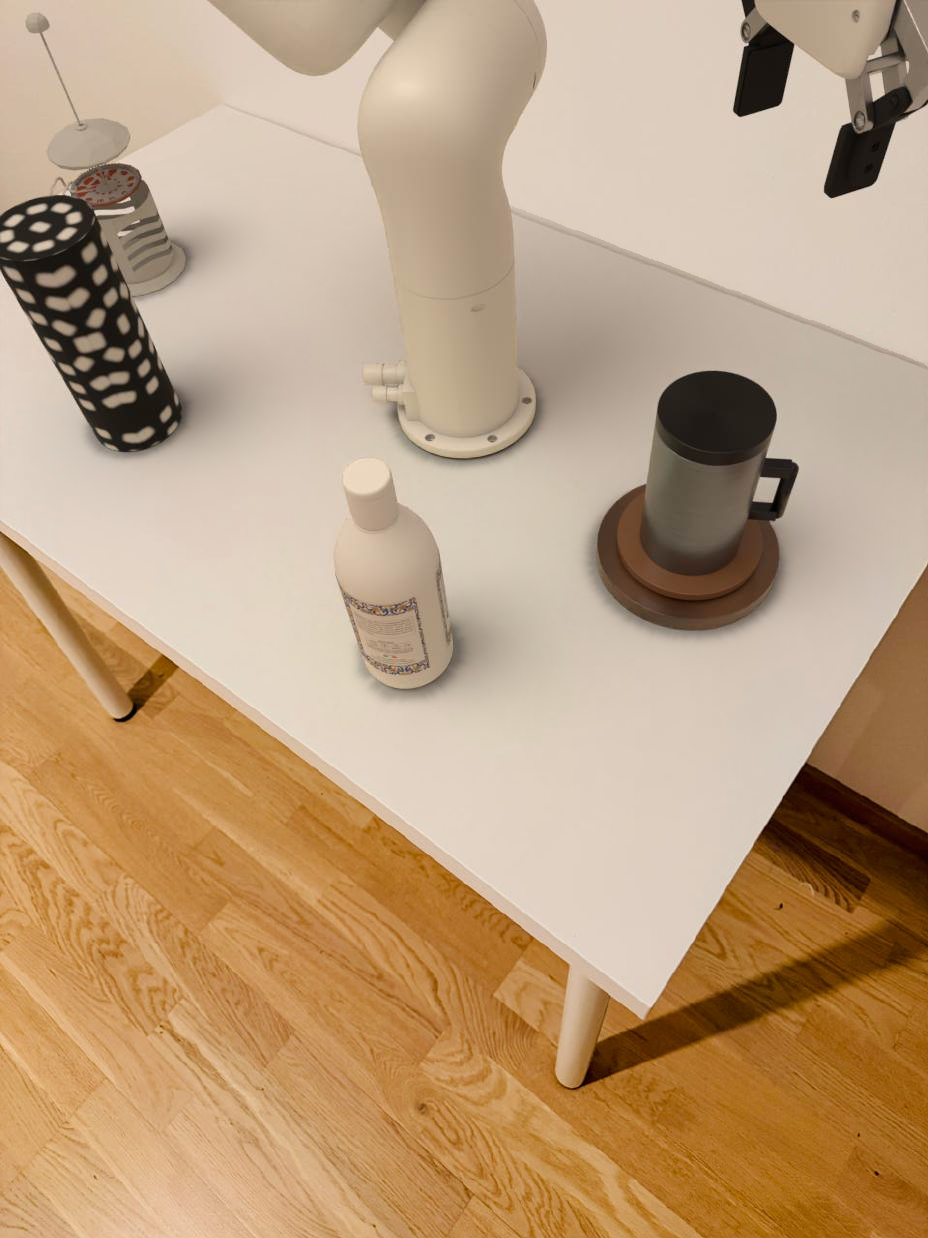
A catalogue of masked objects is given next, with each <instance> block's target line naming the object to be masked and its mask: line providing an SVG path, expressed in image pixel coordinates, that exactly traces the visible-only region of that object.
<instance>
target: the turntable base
mask: <svg viewBox="0 0 928 1238" xmlns="http://www.w3.org/2000/svg"><path fill="white" fill-rule="evenodd" d="M645 490H646V483H644V484H641V485H639V486H637V487H635V488H632V489H631V490H629V491H627V492H626V493H624V494H623V495H622V496H621V497H620V498H619V499H617V500H616V501H615V502H614V503H613V504H612V505H611V506H610V507H609V508H608V510H607V512H606V513H605V515H604V517H603V519H602V521H601V523H600V524H599V529H598V533H597V540H596V549H595V550H596V551H595V555H596V557H595V558H596V565H597V569H598V573H599V576H600V578H601V580H602V582H603V584H604V585H605V587H606V589H607V590H608V592H609V594H611V595H612V597H614V599H615V600H616V601H617V602H618V603H620V605H621V606H623V607H624V608H626V610H628V611H629V612H630V613H632V614H634V615H635V616H638V617H639V618H641V619H643V620H645V621H648V622H649V623H652V624H655V625H658V626H661V627H665V628H670V629H674V630H683V631H704V630H710V629H711V630H712V629H716V628H720V627H724V626H727V625H730V624H732V623H735V622H737V621H739V620H741V619H742V618H744V617H746V616H748V615H749V614H750V613H752V612H753V611H754V610H756V608H757V607H759V606H760V605H761V604H762V602H763V601H764V600H765V598H766V597H767V596H768V595H769V593H770V591H771V588H772V586H773V584H774V581H775V578H776V576H777V573H778V569H779V565H780V560H781V559H780V545H779V540H778V539H779V538H778V536H777V533H776V531H775V529H774V527H773V525H772V523H771V521H765V520H756V521H757V523H758V525H759V527H760V530H761V534H762V541H763V543H762V552H761V557H760V560H759V562H758V565H757V567H756V569H755V571H754V572H753V574H752V575H751V577H750V578H749V579H748V580H747V581H746V582H745V583H744V584H743V585H741V586H740V587H739V588H737V589H735V590H734V591H732V592H730V593H728V594H726V595H723V596H720V597H717V598H712V599H707V600H682V599H676V598H671V597H667V596H665V595H662V594H659V593H657V592H655V591H653V590H651V589H649V588H647V587H646V586H644V585H642V584H641V583H640V582H639V581H637V580H636V579H635V578H634V577H633V576H632V575H631V574H630V573H629V571H628V570H627V569H626V567H625V566H624V564H623V562H622V560H621V558H620V555H619V552H618V548H617V530H618V524H619V521H620V518H621V516H622V514H623V512H624V511H625V509H626V508H627V507H628V505H629V504H630V503H631V502H632V501H633V500H634V499H636V498H637V497H638V496H640V495H641V494H643V493H645Z"/></svg>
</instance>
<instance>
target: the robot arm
mask: <svg viewBox="0 0 928 1238" xmlns="http://www.w3.org/2000/svg"><path fill="white" fill-rule="evenodd" d="M207 1H208V3H210V4H211V6H213V7H214V8H215V9H217V11H218V12H220V13H221V14H222V15H224V17H226V18H227V19H228V20H229V21H230V22H232V23H233V24H234V25H235V26H236V27H237V28H239V29H240V30H241V31H242V32H243V33H244V34H245V35H246V36H248V37H249V38H250V39H251V40H252V41H254V42H255V43H256V44H257V45H259V47H261V48H262V49H263V50H264V51H265V52H267V53H268V54H269V55H270V56H271V57H272V58H274V60H276V61H278V62H279V63H281V64H282V65H283V66H285V67H286V68H287V69H290V70H291V71H293V72H295V73H297V74H300V75H305V76H309V77H320V76H326V75H328V74H330V73H331V74H332V72H335V71H336V70H338V69H340V68H341V67H342V66H343V65H344V64H346V63H347V62H348V61H350V60H351V58H353V56H354V55H356V53H357V52H358V51H359V50H360V49H361V48H362V47H363V45H364V44H365V43H366V42H367V41H368V39H369V38H370V37H371V36H372V34H374V32H375V31H376V30H377V28H378V29H379V30H380V31H381V32H383V33H384V34H385V35H386V36H387V37H389V38H390V39H391V41H392V43H391V44H390V46H388V48H387V49H386V51H385V52H384V53H383V55H381V57H380V59H379V60H378V61H377V63H376V65H375V66H374V68H373V70H372V72H371V73H370V76H369V77H368V79H367V82H366V85H365V86H364V90H363V93H362V95H361V98H360V102H359V107H358V112H357V124H356V128H357V129H356V131H357V141H358V147H359V151H360V155H361V158H362V162H363V164H364V167H365V170H366V172H367V175H368V178H369V181H370V183H371V187H372V188H373V191H374V194H375V197H376V200H377V203H378V208H379V211H380V215H381V219H382V224H383V228H384V233H385V237H386V239H385V240H386V244H387V249H388V255H389V261H390V267H391V272H392V278H393V283H394V290H395V296H396V303H397V310H398V315H399V321H400V327H401V333H402V339H403V347H404V352H405V358H406V360H399V361H398V362H397V364H385V363H364V364H363V366H362V382H363V384H364V386H373V387H372V391H371V394H372V395H371V396H372V402H373V403H389V402H397V403H396V404H397V405H396V406H397V407H396V408H397V409H396V410H397V416H398V421H399V424H400V428H401V429H402V431H403V432H404V434H405V435H406V437H407V438H408V439H409V440H410V441H411V442H412V443H414V445H416V446H417V447H419V448H421V449H423V450H424V451H425V452H429V453H431V454H434V455H436V456H441V457H445V458H451V459H470V458H471V459H472V458H480V457H484V456H488V455H492V454H495V453H497V452H500V451H501V450H502V451H503V449H506V448H508V447H509V446H511V445H512V444H513V443H516V442H517V441H518V440H519V439H520V438H521V437H522V436H523V435H525V433H526V432H527V431H528V429H529V428H530V427H531V425H532V423H533V420H534V418H535V416H536V408H537V394H536V391H535V387H534V384H533V383H532V381H531V379H530V377H529V375H527V374H526V373H525V372H524V370H523V369H522V368H520V367H519V366H518V337H517V336H518V334H517V333H518V332H517V331H518V330H517V298H516V297H517V295H516V267H515V266H516V265H515V264H516V263H515V243H514V241H515V240H514V225H513V216H512V209H511V205H510V201H509V198H508V195H507V192H506V188H505V183H504V180H503V178H504V177H503V160H504V153H505V149H506V146H507V144H508V142H509V140H510V138H511V136H512V134H513V132H514V130H515V129H516V127H517V124H518V123H519V121H520V118H521V116H522V114H523V113H524V111H525V109H526V107H527V106H528V104H529V102H530V101H531V99H532V97H533V95H534V94H535V92H536V90H537V88H538V85H539V84H540V81H541V80H542V77H543V73H544V70H545V66H546V62H547V56H548V39H547V33H546V27H545V24H544V23H545V22H544V20H543V17H542V14H541V12H540V10H539V8H538V6H537V3H536V2H535V0H207ZM740 1H741V5H742V9H743V14H744V20H743V21H742V22H741V25H740V30H739V33H740V34H739V35H740V38H741V40H742V42H743V43H744V44H748V45H744V46H743V50H742V55H741V60H740V61H741V62H740V67H739V72H738V78H737V84H736V89H735V95H734V100H733V106H732V112H733V113H734V114H735V115H736V116H737V117H738V118H743V117H747V116H750V115H753V114H756V113H761V112H763V111H766V110H769V109H774V108H776V107H779V106H780V105H781V104H782V102H783V100H784V95H785V90H786V87H787V81H788V76H789V73H790V67H791V64H792V59H793V54H794V50H795V46H796V47H798V48H799V49H800V50H801V51H803V52H804V53H806V54H807V55H809V56H810V58H812V59H814V60H815V61H816V62H817V63H819V65H822V66H823V67H824V68H825V69H827V70H829V71H830V72H832V73H833V74H834V75H836V76H838V77H840V78H842V79H844V81H845V90H846V95H847V101H848V108H849V114H850V122H847V123H845V124H842V125H841V126H840V128H839V130H838V134H837V138H836V141H835V145H834V148H833V153H832V155H831V159H830V163H829V167H828V170H827V174H826V177H825V181H824V185H823V193H824V194H825V195H826V196H827V197H828V198H829V199H835V198H839V197H841V196H844V195H847V194H851V193H854V192H857V191H860V190H863V189H867V188H870V187H871V186H873V185H874V184H876V182H877V181H878V178H879V176H880V173H881V169H882V166H883V164H884V161H885V158H886V155H887V151H888V148H889V145H890V141H891V139H892V136H893V134H894V131H895V127H896V124H897V123H899V122H902V121H905V120H907V119H908V118H909V117H910V115H912V114H914V113H916V112H918V111H920V110H922V109H923V108H926V106H928V0H740ZM879 47H880V53H881V56H878V57H874V58H870V59H869V56H874V55H875V53H876V52H877V50H878V48H879ZM907 62H908V69H907ZM880 73H881V77H882V85H883V93H884V94H883V95H882V96H880V97H878V98H876V99H875V100H874V98H873V92H872V91H873V90H872V84H871V77H870V76H873V75H877V74H880ZM385 385H397V387H395V386H393V387H392V386H385Z"/></svg>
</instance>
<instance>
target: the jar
mask: <svg viewBox="0 0 928 1238" xmlns="http://www.w3.org/2000/svg"><path fill="white" fill-rule="evenodd" d="M777 411H778V410H777V406H776V404H775V401H774V400H773V398H772V396H771V395H770V394H769V392H768V391H767V390H766V389H765V388H764V387H763V386H761V385H760V384H759V383H758V382H756V381H755V380H752V379H750V378H748V377H747V376H744V375H741V374H738V373H734V372H730V371H725V370H701V371H695V372H692V373H688V374H685V375H683V376H681V377H679V378H677V379H675V380H674V381H672V382H671V383H670V384H669V385H668V386H667V387H666V388H665V389H664V390H663V392H662V393H661V395H660V396H659V399H658V402H657V408H656V415H655V422H654V428H653V436H652V442H651V449H650V456H649V462H648V470H647V478H646V483H645V484H646V490H645V493H643V494H641V495H640V496H638V497H637V498H636V499H634V500H633V501H632V502H631V503H630V504H629V505H628V507H627V508H626V509H625V511H624V512H623V514H622V516H621V518H620V521H619V524H618V530H617V548H618V552H619V555H620V558H621V560H622V562H623V564H624V566H625V567H626V569H627V570H628V571H629V573H630V574H631V575H632V576H633V577H634V578H635V579H636V580H637V581H639V582H640V583H641V584H642V585H644V586H646V587H647V588H649V589H651V590H653V591H655V592H657V593H659V594H662V595H665V596H667V597H671V598H676V599H682V600H707V599H712V598H717V597H720V596H723V595H726V594H728V593H730V592H732V591H734V590H735V589H737V588H739V587H740V586H741V585H743V584H744V583H745V582H746V581H747V580H748V579H749V578H750V577H751V575H752V574H753V572H754V571H755V569H756V567H757V565H758V562H759V560H760V557H761V552H762V543H763V541H762V534H761V530H760V527H759V525H758V523H757V521H756V520H765V521H770V522H776V521H777V520H779V519H781V518H782V517H783V516H784V514H785V512H786V508H787V506H788V503H789V499H790V497H791V495H792V492H793V488H794V485H795V484H796V483H795V482H796V479H797V478H798V477H797V476H798V474H799V471H800V467H799V464H797V462H795V461H793V459H791V458H776V457H767V455H768V452H769V448H770V444H771V442H772V438H773V434H774V433H775V432H774V431H775V428H776V425H777V420H778V412H777ZM761 478H766V479H769V478H770V479H779V481H778V484H777V487H776V490H775V493H774V496H773V499H772V502H769V501H756V500H755V501H754V499H755V495H756V491H757V488H758V485H759V483H760V482H759V481H760V479H761Z"/></svg>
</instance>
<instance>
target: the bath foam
mask: <svg viewBox="0 0 928 1238" xmlns="http://www.w3.org/2000/svg"><path fill="white" fill-rule="evenodd" d="M341 483H342V484H341V485H342V487H343V488H342V489H343V490H344V495H345V499H346V502H347V505H348V509H349V512H350V514H349V515H347V517H346V519H345V520H344V521H343V523H342V525H341V527H340V529H339V530H338V532H337V535H336V538H335V542H334V548H333V565H334V567H333V568H334V574H335V578H336V582H337V584H338V587H339V591H340V593H341V596H342V599H343V600H342V601H343V602H344V606H345V609H346V612H347V615H348V618H349V621H350V624H351V627H352V630H353V633H354V636H355V639H356V642H357V645H358V648H359V651H360V654H361V657H362V660H363V662H364V665H365V667H366V669H367V670H368V672H369V673H370V675H372V676H373V678H375V679H376V680H378V681H379V682H380V683H382V684H383V685H385V686H388V687H391V688H394V689H401V690H406V689H407V690H408V689H415V688H416V689H417V688H420V687H422V686H426V685H427V684H430V683H431V682H433V681H435V680H436V679H437V678H438V677H440V676H441V675H442V674H443V673H444V671H445V670H446V669H447V667H448V666H449V664H450V662H451V660H452V656H453V652H454V639H453V633H452V624H451V623H452V622H451V617H450V611H449V605H448V599H447V593H446V586H445V580H444V574H443V567H442V561H441V553H440V550H439V547H438V546H439V545H438V544H437V541H436V538H435V536H434V533H432V530H431V529H430V528H429V526H428V524H427V523H426V522H425V520H424V519H423V518H422V517H421V516H419V514H417V513H416V511H413V510H412V509H410V508H409V507H408V506H405V505H404V504H402V503H399V502H398V498H397V497H398V496H397V491H396V488H395V482H394V478H393V473H392V471H391V468H390V466H389V465H388V464H387V463H386V461H384V460H382V459H380V458H376V457H362V458H358V459H356V460H354V461H352V462H351V463H349V464H348V465H347V466H346V467H345V469H344V470H343V472H342V476H341Z"/></svg>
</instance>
